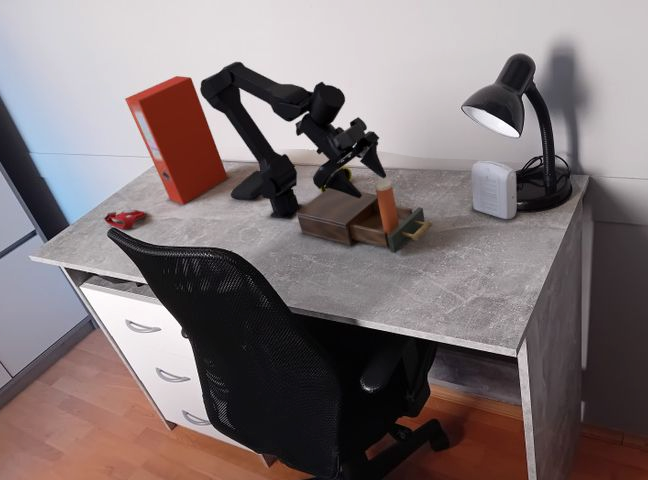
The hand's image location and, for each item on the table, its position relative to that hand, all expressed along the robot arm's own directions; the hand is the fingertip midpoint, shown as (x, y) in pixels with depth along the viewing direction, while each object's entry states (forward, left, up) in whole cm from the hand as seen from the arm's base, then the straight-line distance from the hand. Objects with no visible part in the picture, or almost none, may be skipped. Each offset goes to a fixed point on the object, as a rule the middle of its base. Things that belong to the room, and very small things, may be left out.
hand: (373, 186), depth 119 cm
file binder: (-71, +14, -13) cm, 73 cm away
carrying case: (-49, +16, -13) cm, 53 cm away
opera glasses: (-24, +20, -13) cm, 33 cm away
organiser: (-12, +2, -13) cm, 18 cm away
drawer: (+3, -1, -12) cm, 12 cm away
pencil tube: (+3, -1, -11) cm, 11 cm away
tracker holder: (-82, -7, -13) cm, 83 cm away
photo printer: (+22, +14, -13) cm, 29 cm away
